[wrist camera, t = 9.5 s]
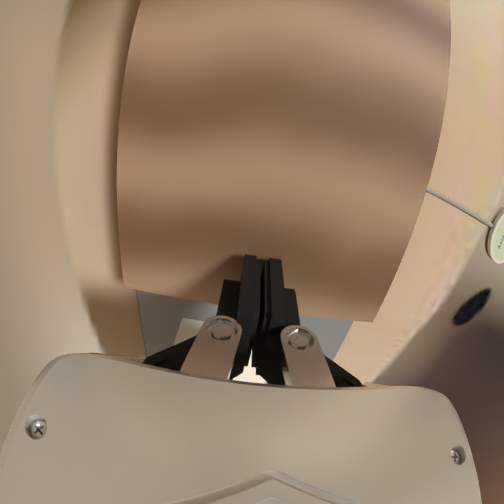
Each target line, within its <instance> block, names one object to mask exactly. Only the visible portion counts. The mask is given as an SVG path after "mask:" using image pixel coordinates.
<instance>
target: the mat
mask: <svg viewBox="0 0 504 504" xmlns="http://www.w3.org/2000/svg"><path fill="white" fill-rule="evenodd" d="M137 295H138V304H139V311H140V318H141V325H142V332H143V338H144V344H145V349H146V355H147V357H149V356H150V355H152V354H155V353H157V352H160V351H162V350H164V349H167V348H169V347H171V346H173V344H174V341H175V339H176V336H177V333H178V330H179V327H180V324H181V321H182V318H187V319H193V320H198V321H204V322H205V320H207V319H208V318H210V317H213V316H216V313H217V309H218V305H217V304H211V303H205V302H199V301H193V300H187V299H181V298H176V297H170V296H165V295H160V294H155V293H150V292H145V291H140V290H137ZM299 318H300V325H301V326H304V327H306V328H308V329H310V330H311V331H313V332H314V333H315V335H316V336H317V338H318V341H319V343H320V346H321V348H322V351H323V354H324V355H325V356H326V357H328V358H329V359H331V360H332V361H333V359H334V358H335V356H336V354H337V352H338V350H339V348H340V346H341V344H342V342H343V341H344V339H345V337H346V335H347V333H348V331H349V329H350V327H351V325H352V323H353V321H351V320H339V319H328V318H318V317H308V316H299Z"/></svg>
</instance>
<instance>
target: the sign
mask: <svg viewBox="0 0 504 504" xmlns="http://www.w3.org/2000/svg"><path fill="white" fill-rule="evenodd" d="M426 192H428V193H430V194H432V195H434V196H436V197H438V198H440V199H442V200H443V201H445V202H447V203H449V204H451V205H453V206H454V207H456V208H458V209H460V210H462V211H463V212H465V213H467V214H469V215H470V216H472V217H474V218H475V219H477V220H479V221H480V222H482V223H484V224H485V225H487V226H488V228H487V231H486V236H485V250H486V253H487V255H488V256H489V257H490V258H491V259H492V260H493V261H494V262H496V263H499V264H500V263H504V206H502V207H500V208H499V209H498V210H497V211H496V212H495V214H494V215H493V217H492V219H491V221H490V222H489V221H487V220H486V219H484V218H483V217H481V216H479V215H478V214H476V213H474V212H473V211H471V210H469V209H468V208H466V207H464V206H463V205H461V204H459V203H457V202H455V201H453V200H452V199H450V198H448V197H446V196H444V195H442V194H440V193H438V192H436V191H434V190H432V189H430V188H428V187H427V189H426Z"/></svg>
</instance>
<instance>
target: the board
mask: <svg viewBox="0 0 504 504" xmlns="http://www.w3.org/2000/svg"><path fill="white" fill-rule="evenodd" d="M450 46H451V19H450V0H141V1H140V5H139V8H138V12H137V16H136V20H135V24H134V28H133V32H132V37H131V41H130V46H129V51H128V56H127V62H126V68H125V74H124V81H123V88H122V96H121V106H120V116H119V128H118V146H117V215H118V233H119V246H120V257H121V266H122V275H123V283H124V287H126V288H130V289H135V290H140V291H145V292H150V293H155V294H160V295H165V296H170V297H176V298H181V299H187V300H193V301H199V302H205V303H211V304H217V305H218V304H219V299H220V295H221V290H222V286H223V281H224V279H226V280H233V281H241V275H242V269H243V262H244V256H245V254H249V255H255V256H257V259H261V273H262V268H263V263H264V260H269V258H275V259H281V260H282V269H283V278H284V287H285V288H289V289H295V292H296V298H297V305H298V311H299V316H308V317H318V318H328V319H339V320H351V321H365V322H373V320H374V318H375V316H376V314H377V312H378V310H379V308H380V306H381V304H382V302H383V300H384V298H385V296H386V294H387V292H388V290H389V288H390V285H391V283H392V281H393V279H394V277H395V274H396V272H397V270H398V267H399V265H400V263H401V260H402V258H403V255H404V253H405V250H406V248H407V245H408V243H409V240H410V237H411V235H412V232H413V229H414V226H415V224H416V221H417V218H418V215H419V212H420V209H421V206H422V203H423V199H424V196H425V193H426V189H427V186H428V182H429V179H430V175H431V171H432V168H433V164H434V160H435V155H436V151H437V147H438V142H439V137H440V132H441V127H442V122H443V116H444V110H445V103H446V96H447V87H448V78H449V66H450Z"/></svg>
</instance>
